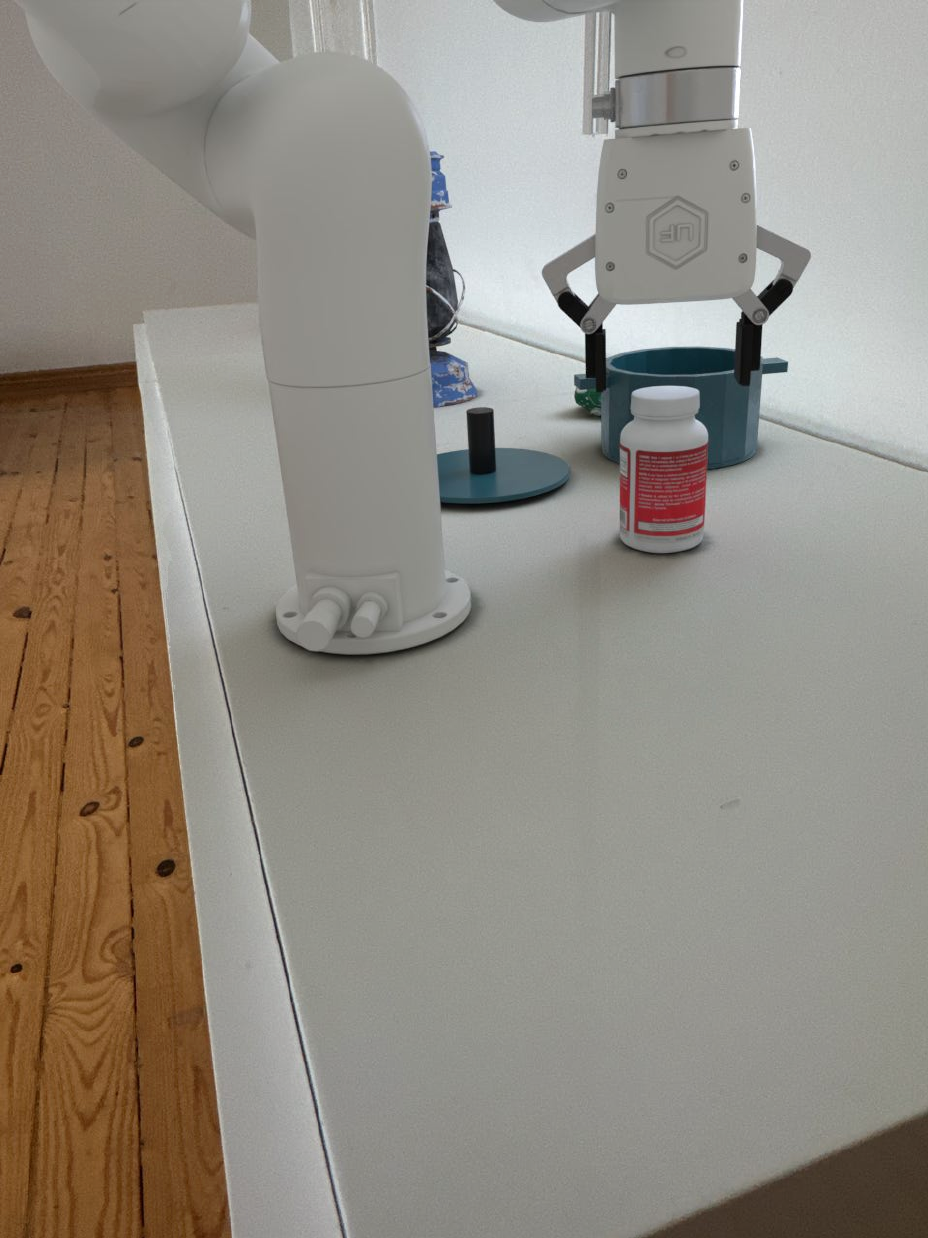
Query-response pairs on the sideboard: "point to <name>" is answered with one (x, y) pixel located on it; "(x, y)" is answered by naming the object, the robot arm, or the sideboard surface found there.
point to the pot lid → (495, 467)
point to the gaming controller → (589, 400)
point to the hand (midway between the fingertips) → (670, 385)
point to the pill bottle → (663, 471)
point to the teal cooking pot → (703, 368)
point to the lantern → (443, 303)
